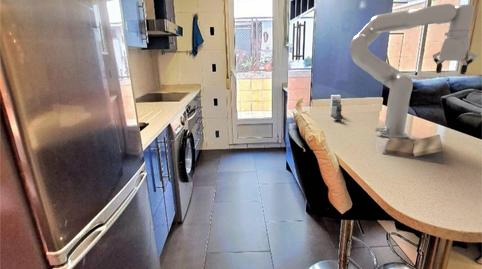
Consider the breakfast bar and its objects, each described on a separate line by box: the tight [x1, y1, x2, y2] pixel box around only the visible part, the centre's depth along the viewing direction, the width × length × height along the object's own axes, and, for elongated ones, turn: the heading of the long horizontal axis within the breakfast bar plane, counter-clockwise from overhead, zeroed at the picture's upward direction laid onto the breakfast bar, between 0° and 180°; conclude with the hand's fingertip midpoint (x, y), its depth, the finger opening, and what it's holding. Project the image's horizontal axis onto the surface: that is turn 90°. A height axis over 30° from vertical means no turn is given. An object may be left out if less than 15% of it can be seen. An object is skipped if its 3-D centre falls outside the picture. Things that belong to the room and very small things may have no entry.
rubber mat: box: [382, 139, 445, 164], centre depth 125 cm, size 22×22×1 cm
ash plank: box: [413, 134, 444, 156], centre depth 121 cm, size 10×20×2 cm, turn 148°
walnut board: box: [385, 138, 414, 157], centre depth 127 cm, size 10×20×2 cm, turn 148°
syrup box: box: [329, 94, 342, 118], centre depth 192 cm, size 6×6×14 cm
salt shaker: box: [333, 103, 344, 123], centre depth 178 cm, size 6×6×12 cm
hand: (450, 73), depth 132 cm, fingers open, 9 cm apart
